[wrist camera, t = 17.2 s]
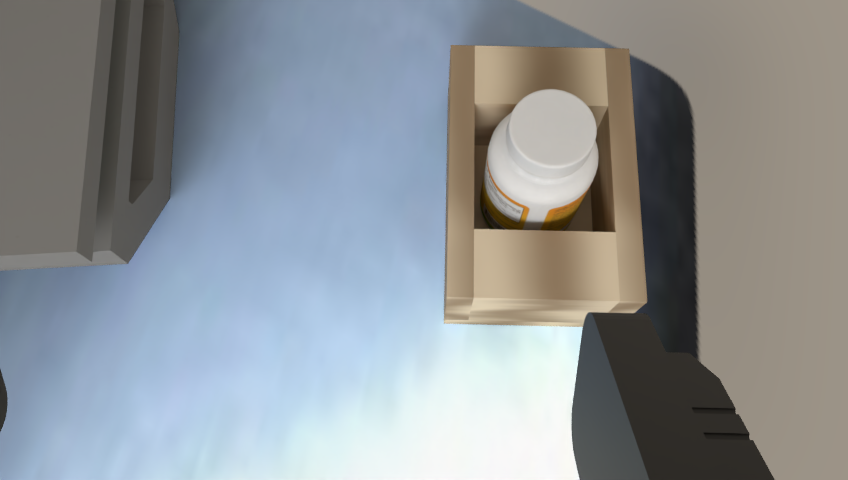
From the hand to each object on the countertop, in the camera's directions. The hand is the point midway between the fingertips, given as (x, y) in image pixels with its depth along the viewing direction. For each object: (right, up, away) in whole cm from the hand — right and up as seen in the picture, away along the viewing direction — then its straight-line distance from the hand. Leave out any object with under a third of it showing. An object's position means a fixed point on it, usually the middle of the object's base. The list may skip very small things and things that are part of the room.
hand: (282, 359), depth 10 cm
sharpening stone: (-17, +9, +36) cm, 41 cm away
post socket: (+8, +3, +33) cm, 35 cm away
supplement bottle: (+8, +4, +33) cm, 34 cm away
